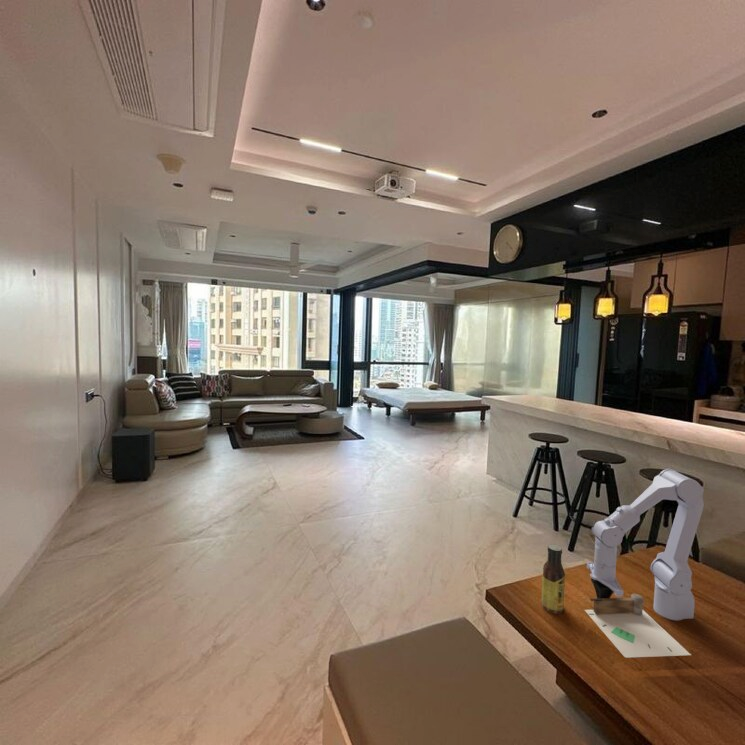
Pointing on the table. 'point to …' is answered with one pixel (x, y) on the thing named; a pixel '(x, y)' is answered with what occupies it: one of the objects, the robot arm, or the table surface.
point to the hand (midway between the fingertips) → (602, 603)
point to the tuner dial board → (637, 635)
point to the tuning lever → (619, 605)
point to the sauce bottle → (553, 581)
